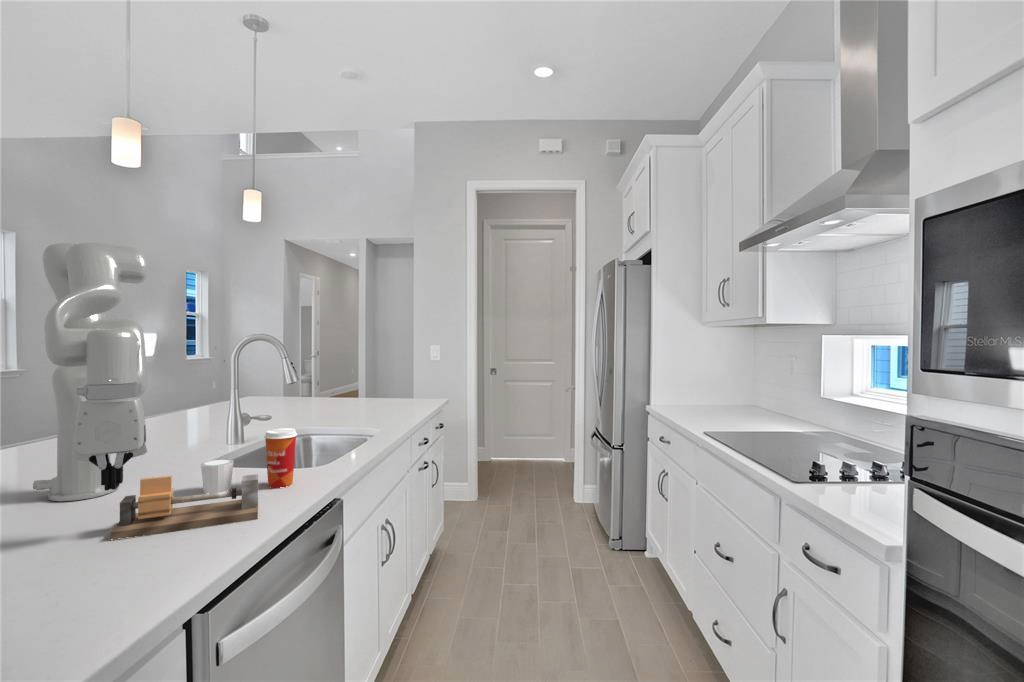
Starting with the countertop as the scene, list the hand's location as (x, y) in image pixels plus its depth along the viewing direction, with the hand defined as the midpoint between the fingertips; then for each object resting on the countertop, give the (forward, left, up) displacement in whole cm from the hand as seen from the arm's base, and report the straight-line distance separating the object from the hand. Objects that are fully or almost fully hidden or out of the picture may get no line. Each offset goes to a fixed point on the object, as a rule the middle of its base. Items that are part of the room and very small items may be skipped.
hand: (112, 487), depth 92 cm
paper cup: (+30, +18, -9) cm, 36 cm away
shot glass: (+16, +20, -9) cm, 27 cm away
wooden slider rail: (+13, 0, -9) cm, 15 cm away
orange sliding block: (+7, 0, -6) cm, 9 cm away
